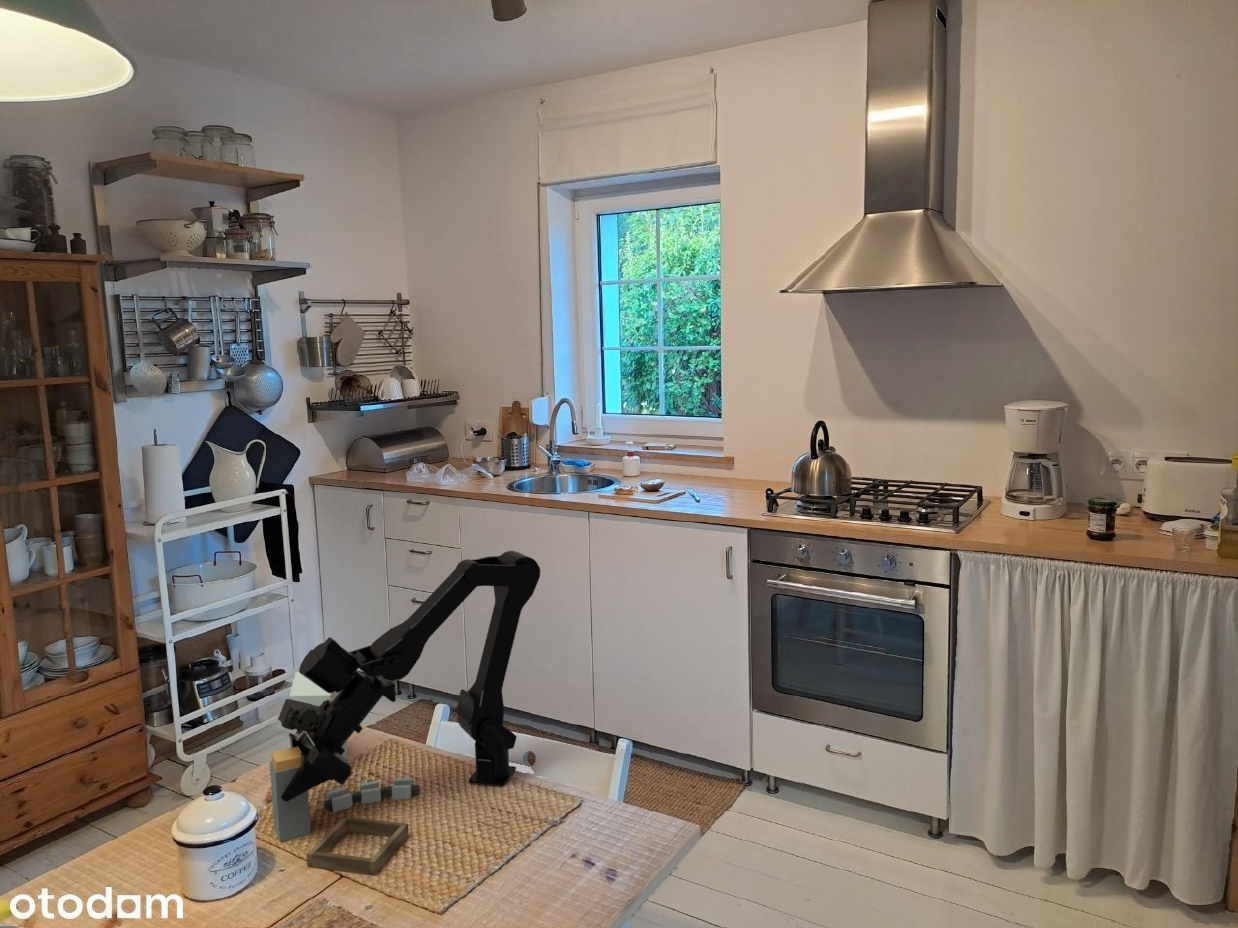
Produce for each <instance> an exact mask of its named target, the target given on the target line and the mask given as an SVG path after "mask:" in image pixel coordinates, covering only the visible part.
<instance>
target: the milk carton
mask: <svg viewBox="0 0 1238 928" xmlns="http://www.w3.org/2000/svg"><path fill="white" fill-rule="evenodd" d="M299 668H300V665H295V673H294V678H293V682H292V685H291V689H290V692H289V699H291V700H296V701H300V702H305V703H309V704H312V705H315V706H320V705H321V704H322V703H323V702H324V701H325V700H326V701H327V699H328V700H330V701H331V702H332V700H333V699H334V698H335V697H336V696H337V694H338V693H339V692H338V693H337V692H333V693H327V692H326V691H324V690H323V689H322V688H320V687H319V686H317V685H316V684H314V683H313V682H312V681H310V680H309V679H307V678H306V677H304V676H303V675H302V674H300V673H299ZM296 732H297V730H296V729H294V730H291V733H292V734H293V735H294V734H295V733H296ZM342 747H343V748H344V749H345V751H344V753H343V754H342V756H343V757H345V758H346V760H347V761H348V740H347V741H346V742H345V744H344V745H343V746H342Z"/></svg>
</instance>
